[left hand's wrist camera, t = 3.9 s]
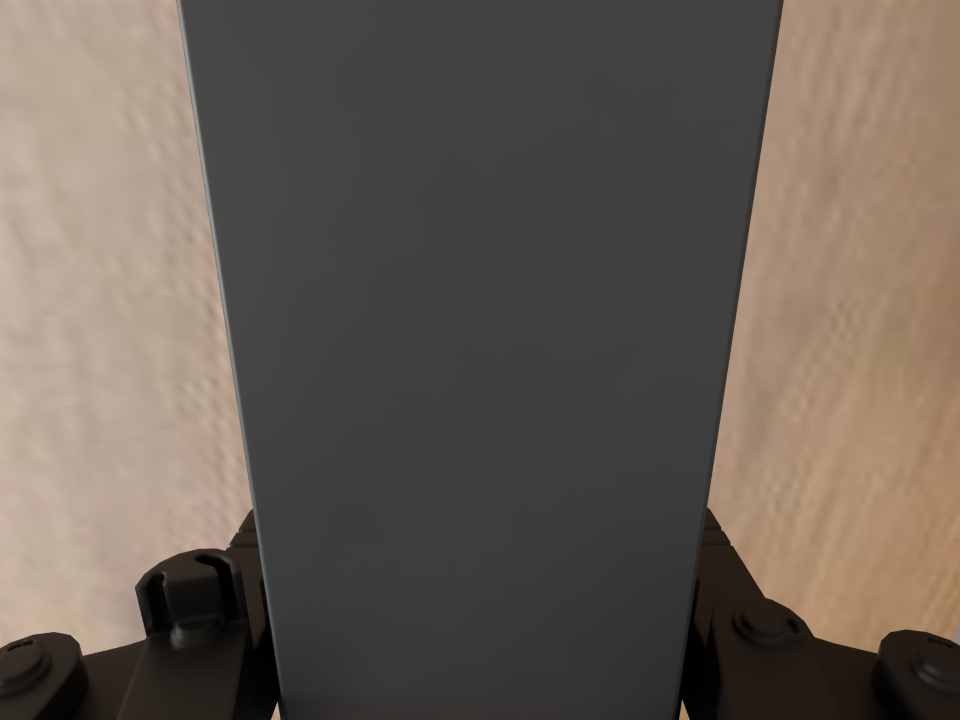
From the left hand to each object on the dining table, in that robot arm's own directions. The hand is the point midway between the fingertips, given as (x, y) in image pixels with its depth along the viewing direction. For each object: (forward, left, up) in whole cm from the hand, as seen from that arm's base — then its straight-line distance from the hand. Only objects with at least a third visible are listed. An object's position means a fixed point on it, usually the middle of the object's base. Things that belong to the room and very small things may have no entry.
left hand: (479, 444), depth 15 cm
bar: (+7, +2, -1) cm, 8 cm away
